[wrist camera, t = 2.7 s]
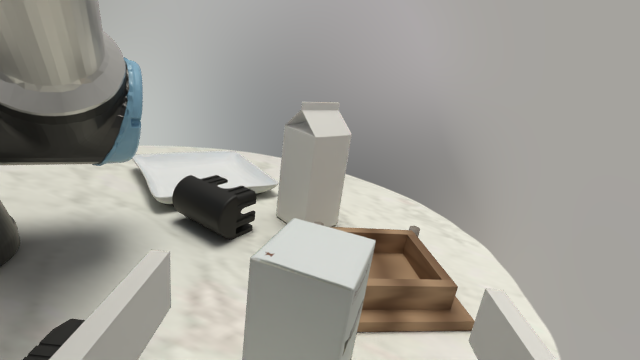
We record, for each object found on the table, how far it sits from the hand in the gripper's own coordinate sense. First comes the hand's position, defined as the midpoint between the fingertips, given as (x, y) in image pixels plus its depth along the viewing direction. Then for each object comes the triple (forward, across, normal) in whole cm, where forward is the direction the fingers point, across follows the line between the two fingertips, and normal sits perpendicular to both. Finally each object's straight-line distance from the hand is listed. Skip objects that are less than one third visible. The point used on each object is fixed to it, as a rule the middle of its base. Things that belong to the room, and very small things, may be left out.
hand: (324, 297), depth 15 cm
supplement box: (+10, 0, -16) cm, 19 cm away
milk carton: (+40, -1, -16) cm, 43 cm away
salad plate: (+50, -22, -16) cm, 57 cm away
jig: (+25, +8, -16) cm, 31 cm away
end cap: (+34, -15, -16) cm, 40 cm away
